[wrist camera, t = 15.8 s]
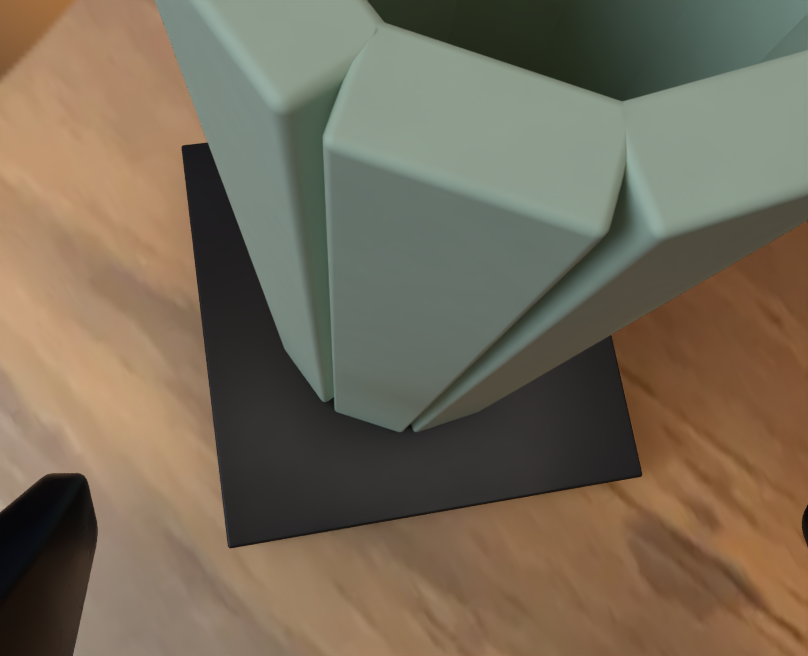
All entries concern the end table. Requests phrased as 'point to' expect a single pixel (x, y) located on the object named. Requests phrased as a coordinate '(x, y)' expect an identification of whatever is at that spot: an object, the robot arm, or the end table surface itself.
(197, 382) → the end table surface
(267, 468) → the black stand base
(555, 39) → the sleeve
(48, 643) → the robot arm
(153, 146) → the end table surface
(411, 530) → the end table surface
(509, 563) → the end table surface
